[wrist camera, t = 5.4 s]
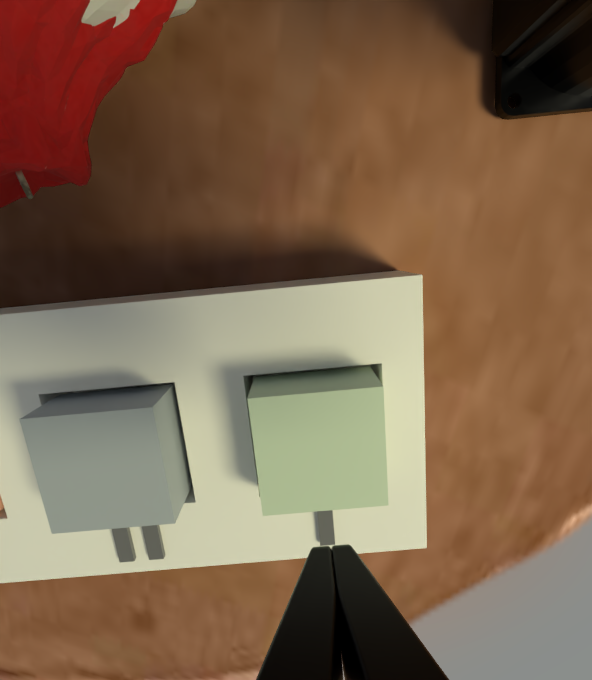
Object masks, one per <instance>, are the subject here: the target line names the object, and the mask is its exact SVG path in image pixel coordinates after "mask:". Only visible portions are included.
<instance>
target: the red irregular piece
mask: <svg viewBox="0 0 592 680" xmlns="http://www.w3.org/2000/svg"><path fill="white" fill-rule="evenodd" d="M195 2H196V0H0V208H2V207H4V206H6V205H8V204H10V203H12V202H14V201H16V200H18V199H20V198H24V197H28V198H29V199H32V198H33V196H34V194H35V193H36V192H37V191H38V190H39V189H40V187H52V186H58V185H62V184H66V183H70V182H71V183H74V184H76V185H78V186H82V185H86V184H87V183H88V181H89V178H90V176H91V160H90V155H89V150H88V136H89V132H90V129H91V126H92V123H93V120H94V116H95V113H96V110H97V107H98V106H99V104H100V102H101V101H102V99H103V98H104V96H105V95H106V94H107V93H108V92H109V91H110V90H111V89H112V88H113V87H114V86H115V84H116V83H117V82H118V81H119V80H120V79H121V77H122V75H123V73H124V71H125V69H126V68H127V67H128V66H130V65H133V64H136V63H138V62H141V61H144V60H145V58H146V57H147V55H148V54H149V52H150V51H151V49H152V48H153V46H154V45H155V43H156V40H157V38H158V36H159V34H160V32H161V30H162V27H163V24H164V23H165V22H167V21H168V19H169V18H171V17H175V16H178V15H182V14H185V13H186V12H187V11H188V10H190V9H191V8H192V7H193V6H194V5H195Z"/></svg>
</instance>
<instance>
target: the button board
mask: <svg viewBox="0 0 592 680" xmlns="http://www.w3.org/2000/svg"><path fill="white" fill-rule="evenodd" d="M366 366H370V367H371V368H372V370H373V371H374V373H375V374H376V376H377V378H378V379H379V381H380V382H381V384H382V385H383V387H384V411H385V434H386V458H387V481H388V505H387V506H376V507H364V508H352V509H340V510H328V511H317V512H305V513H293V514H281V515H269V516H263V513H262V506H261V498H260V491H259V483H258V475H257V468H256V460H255V453H254V445H253V437H252V430H251V422H250V415H249V407H248V399H247V398H248V395H249V392H250V389H251V386H252V383H253V380H254V377H256V376H267V375H278V374H289V373H300V372H311V371H322V370H333V369H344V368H355V367H366ZM168 384H174V389H175V394H176V400H177V405H178V411H179V417H180V422H181V428H182V434H183V439H184V445H185V450H186V456H187V462H188V467H189V473H190V478H191V484H192V486H191V488H190V491H189V493H188V495H187V498H186V500H185V502H184V504H183V507H182V509H181V511H180V514H179V516H178V518H177V520H176V523H175V524H163V525H151V526H140V527H128V528H116V529H104V530H92V531H81V532H69V533H57V534H52V533H51V529H50V526H49V522H48V519H47V515H46V512H45V508H44V505H43V501H42V498H41V494H40V491H39V487H38V484H37V480H36V477H35V473H34V470H33V466H32V462H31V459H30V455H29V452H28V448H27V445H26V441H25V438H24V434H23V431H22V427H21V424H20V420H19V419H20V418H22V417H24V416H25V415H27V414H29V413H30V412H32V411H34V410H35V409H37V408H39V407H40V406H42V405H43V404H45V403H47V402H48V401H50V400H52V399H53V398H55V397H57V396H58V395H60V394H69V393H80V392H91V391H102V390H113V389H124V388H135V387H146V386H157V385H168ZM0 495H1V499H2V502H3V505H4V508H3V509H2V510H1V511H0V583H8V582H20V581H32V580H45V579H57V578H69V577H81V576H93V575H105V574H117V573H129V572H141V571H153V570H165V569H178V568H190V567H202V566H214V565H226V564H238V563H250V562H262V561H274V560H286V559H298V558H307V557H308V555H309V552H310V550H311V549H312V548H313V547H319V546H329V547H330V548H331V550H332V547H333V546H334V545H346V544H349V545H351V546H352V547H353V549H354V550H355V551H356V553H357V554H359V553H371V552H383V551H395V550H407V549H419V548H427V531H426V469H425V408H424V346H423V284H422V275H421V274H415V273H410V272H404V271H399V270H398V271H387V272H377V273H366V274H356V275H345V276H335V277H324V278H314V279H303V280H293V281H282V282H272V283H261V284H251V285H240V286H229V287H219V288H208V289H198V290H187V291H177V292H166V293H156V294H145V295H135V296H124V297H114V298H103V299H93V300H82V301H72V302H61V303H51V304H40V305H30V306H19V307H8V308H0Z"/></svg>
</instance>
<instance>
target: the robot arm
mask: <svg viewBox="0 0 592 680" xmlns="http://www.w3.org/2000/svg"><path fill="white" fill-rule="evenodd" d="M492 51H493V53H494V54H495V56H496V90H495V109H496V113H497V114H498V116H499V117H501V118H502V119H507V120H509V119H518V118H528V117H538V116H548V115H558V114H568V113H578V112H588V111H592V0H493V17H492ZM508 97H511V98H513V99H514V100H515V108H510V107H509V106H508V102H507V101H508ZM341 655H342V656H341ZM342 663H343V669H342ZM343 671H344V677H345V680H449V679H448V678H447V676H446V675H445V674H444V672H443V671H442V669H441V668H440V667H439V665H438V664H437V663H436V662H435V660H434V659H433V657H432V656H431V654H430V653H429V652H428V650H427V649H426V647H425V646H424V645H423V643H422V642H421V641H420V639H419V638H418V637H417V635H416V634H415V632H414V631H413V630H412V628H411V627H410V626H409V624H408V623H407V621H406V620H405V619H404V617H403V616H402V615H401V613H400V612H399V610H398V609H397V608H396V606H395V605H394V604H393V602H392V601H391V599H390V598H389V597H388V595H387V594H386V593H385V591H384V590H383V588H382V587H381V586H380V584H379V583H378V582H377V580H376V579H375V578H374V576H373V575H372V573H371V572H370V571H369V569H368V568H367V567H366V565H365V564H364V562H363V561H362V560H361V558H360V557H359V556H358V554H357V553H356V551H355V550H354V549H353V547H352V546H351V545H349V544H346V545H334V546H333V547H332V550H331V548H330V547H329V546H319V547H313V548H312V549H311V550H310V552H309V555H308V557H307V560H306V562H305V564H304V567H303V569H302V572H301V574H300V576H299V579H298V581H297V583H296V586H295V588H294V591H293V593H292V595H291V598H290V600H289V602H288V605H287V607H286V610H285V612H284V614H283V617H282V619H281V622H280V624H279V626H278V629H277V631H276V633H275V636H274V638H273V641H272V643H271V645H270V648H269V650H268V652H267V655H266V657H265V660H264V662H263V664H262V667H261V669H260V672H259V674H258V676H257V679H256V680H343Z"/></svg>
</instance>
